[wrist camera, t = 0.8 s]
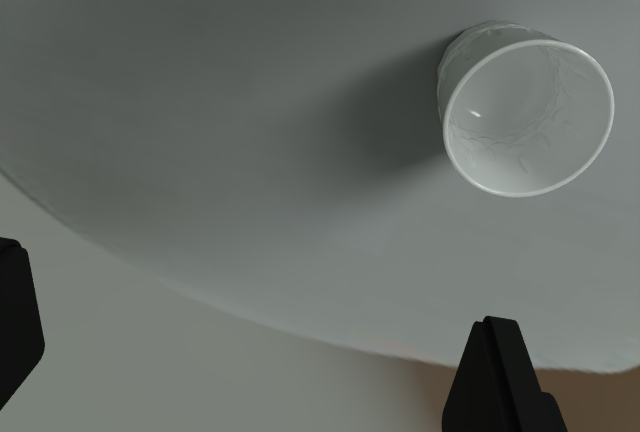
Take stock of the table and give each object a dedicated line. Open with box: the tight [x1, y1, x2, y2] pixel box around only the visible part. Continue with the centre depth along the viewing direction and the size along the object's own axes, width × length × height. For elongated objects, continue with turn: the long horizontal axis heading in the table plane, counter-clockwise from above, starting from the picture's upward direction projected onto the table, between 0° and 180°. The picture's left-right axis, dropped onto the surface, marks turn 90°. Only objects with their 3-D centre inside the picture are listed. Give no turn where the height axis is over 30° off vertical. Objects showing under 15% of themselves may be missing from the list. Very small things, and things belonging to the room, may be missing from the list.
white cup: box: [437, 21, 614, 198], centre depth 29 cm, size 8×8×10 cm
